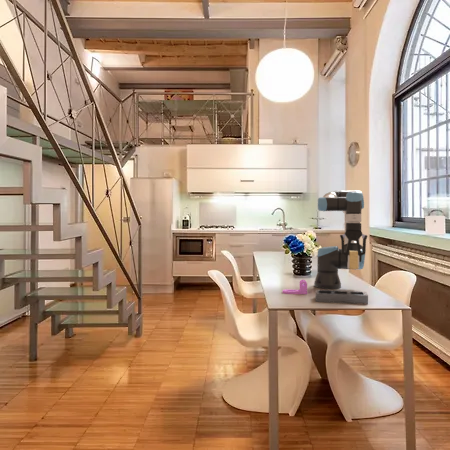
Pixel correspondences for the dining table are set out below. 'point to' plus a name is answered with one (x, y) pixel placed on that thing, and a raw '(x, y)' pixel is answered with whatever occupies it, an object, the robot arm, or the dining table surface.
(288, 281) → the dining table surface
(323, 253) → the robot arm
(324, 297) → the dark grey tray
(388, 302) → the dining table surface
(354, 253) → the brass block
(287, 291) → the bracket
